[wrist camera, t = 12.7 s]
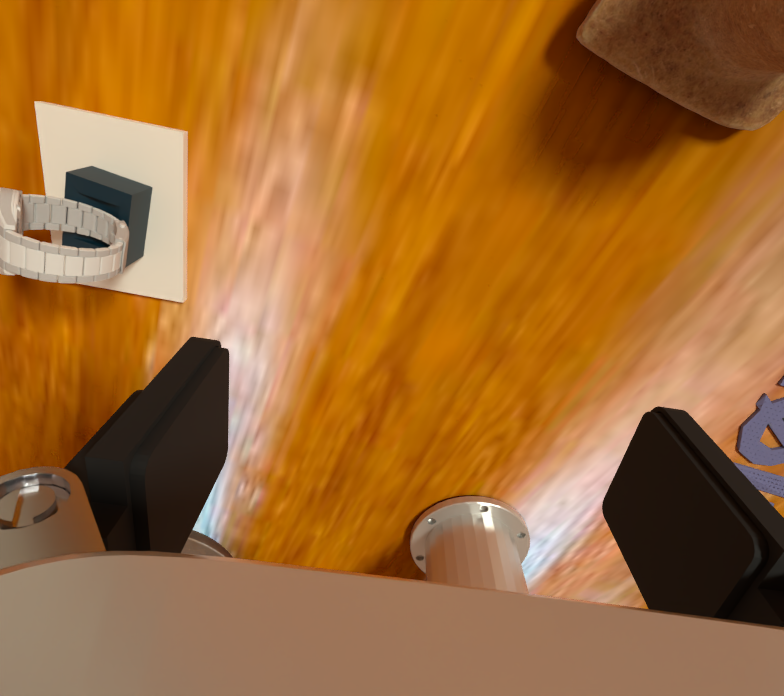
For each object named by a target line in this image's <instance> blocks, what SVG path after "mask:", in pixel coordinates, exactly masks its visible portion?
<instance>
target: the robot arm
mask: <svg viewBox="0 0 784 696" xmlns="http://www.w3.org/2000/svg"><path fill="white" fill-rule="evenodd" d="M228 404H229V351H228V349H226V348H221V344H220V342H219V341H217V340H210V339H204V338H197V337H191V338H190V339H189V340H188V341H187V342H186V343H185V344H184V345H183V346H182V347H181V349H180V350H179V351H178V352H177V353H176V354H175V355H174V356H173V358H172V359H171V360H170V361H169V362H168V363H167V364H166V365H165V367H164V368H163V369H162V370H161V371H160V372H159V373H158V374H157V376H156V377H155V378H154V379H153V380H152V381H151V382H150V383H149V385H148V386H147V387H146V388H145V389H144V390H138V391H135V392H134V393H133V394H132V395H131V396H130V397H129V398H128V399H127V400H126V401H125V402H124V403H123V404H122V406H121V407H120V408H119V409H118V410H117V411H116V412H115V413H114V414H113V415H112V416H111V418H110V419H109V420H108V421H107V422H106V423H105V424H104V425H103V426H102V427H101V428H100V430H99V431H98V432H97V433H96V434H95V435H94V436H93V437H92V438H91V439H90V440H89V442H88V443H87V444H86V445H85V446H84V447H83V448H82V449H81V450H80V451H79V452H78V454H77V455H76V456H75V457H74V458H73V459H72V460H71V461H70V462H69V463H68V464H67V466H66V467H65V468H64V469H62V468H57V467H33V468H28V469H23V470H18V471H15V472H12V473H10V474H7V475H4V476H1V477H0V696H784V518H783V517H782V516H781V515H780V514H779V513H778V511H777V510H776V509H775V508H774V507H773V506H772V505H771V504H770V503H769V502H768V500H767V499H766V498H765V497H764V496H763V495H762V494H761V493H760V492H759V491H758V489H757V488H756V487H755V486H754V485H753V484H752V483H751V482H750V481H749V480H748V479H747V477H746V476H745V475H744V474H743V473H742V472H741V471H740V470H739V469H738V468H737V466H736V465H735V464H734V463H733V462H732V461H731V460H730V459H729V458H728V457H727V456H726V454H725V453H724V452H723V451H722V450H721V449H720V448H719V447H718V446H717V445H716V443H715V442H714V441H713V440H712V439H711V438H710V437H709V436H708V435H707V434H706V433H705V431H704V430H703V429H702V428H701V427H700V426H699V425H698V424H697V423H696V422H695V420H694V419H693V418H692V417H691V416H690V415H689V414H688V413H687V412H686V411H684V410H678V409H671V408H665V407H655V408H654V409H653V410H651V412H646V413H645V414H644V415H643V417H642V419H641V421H640V423H639V425H638V427H637V429H636V432H635V434H634V436H633V438H632V440H631V442H630V444H629V446H628V449H627V451H626V453H625V455H624V457H623V459H622V461H621V464H620V466H619V468H618V470H617V472H616V474H615V476H614V478H613V481H612V483H611V485H610V487H609V489H608V491H607V493H606V495H605V498H604V500H603V505H602V510H603V515H604V518H605V520H606V522H607V524H608V526H609V528H610V530H611V532H612V534H613V536H614V538H615V540H616V542H617V544H618V546H619V548H620V551H621V553H622V555H623V557H624V559H625V561H626V563H627V565H628V567H629V569H630V571H631V573H632V575H633V577H634V579H635V581H636V584H637V586H638V588H639V590H640V592H641V594H642V596H643V598H644V600H645V602H646V604H647V606H648V608H649V609H643V608H635V607H628V606H620V605H612V604H605V603H597V602H590V601H582V600H574V599H566V598H558V597H550V596H542V595H535V594H529V593H528V589H527V585H526V581H525V577H524V573H523V569H522V565H521V563H522V562H523V561H524V559H525V557H526V556H527V553H528V550H529V547H530V537H529V533H528V529H527V526H526V524H525V521H524V520H523V518H522V517H521V515H520V514H519V513H518V512H517V511H516V510H515V509H513V508H512V507H510V506H509V505H507V504H505V503H504V502H501V501H498V500H496V499H492V498H487V497H482V496H464V497H456V498H452V499H448V500H445V501H443V502H440V503H438V504H436V505H434V506H433V507H431V508H429V509H428V510H426V511H425V512H424V513H423V514H422V515H421V516H420V517H419V518H418V520H417V521H416V522H415V524H414V526H413V528H412V530H411V535H410V551H411V555H412V558H413V560H414V562H415V563H416V565H417V566H418V567H419V568H420V569H421V570H422V571H423V572H424V573H425V574H426V581H423V580H414V579H406V578H398V577H389V576H381V575H373V574H364V573H356V572H348V571H339V570H331V569H323V568H314V567H306V566H297V565H289V564H281V563H272V562H264V561H255V560H247V559H238V558H229V557H218V556H206V555H194V554H182V553H181V552H182V550H183V548H184V546H185V544H186V541H187V539H188V537H189V535H190V533H191V531H192V529H193V527H194V525H195V523H196V521H197V519H198V517H199V515H200V513H201V511H202V509H203V507H204V505H205V502H206V500H207V498H208V496H209V494H210V492H211V490H212V488H213V486H214V484H215V482H216V480H217V478H218V476H219V474H220V472H221V470H222V468H223V466H224V463H225V460H226V457H227V451H228Z"/></svg>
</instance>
